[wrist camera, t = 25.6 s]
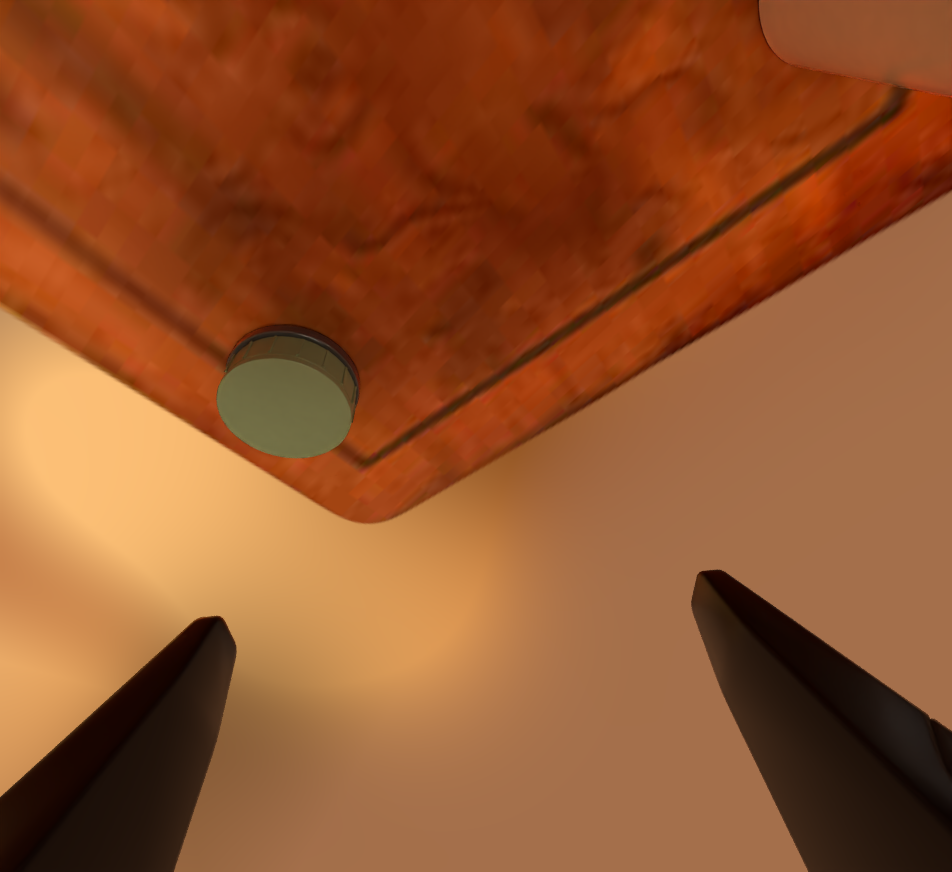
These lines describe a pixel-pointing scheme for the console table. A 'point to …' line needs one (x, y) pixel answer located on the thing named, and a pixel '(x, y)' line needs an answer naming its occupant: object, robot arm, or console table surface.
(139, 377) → the console table surface
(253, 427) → the lid
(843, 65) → the jar
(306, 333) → the coaster
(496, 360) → the console table surface
